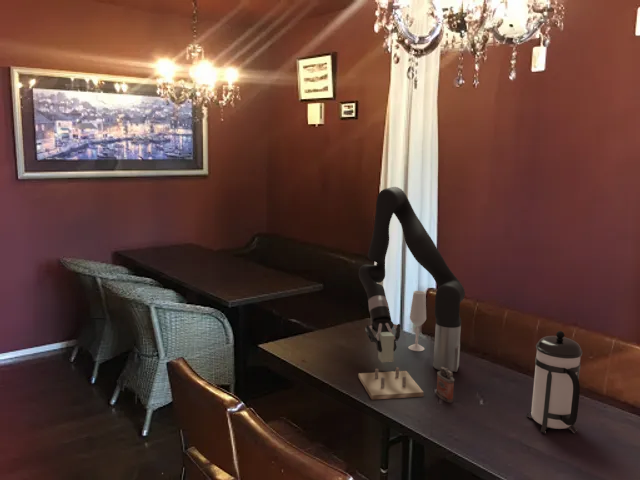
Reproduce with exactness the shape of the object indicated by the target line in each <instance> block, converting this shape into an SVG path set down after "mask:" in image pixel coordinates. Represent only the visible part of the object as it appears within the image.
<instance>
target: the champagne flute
mask: <svg viewBox="0 0 640 480" xmlns="http://www.w3.org/2000/svg"><path fill="white" fill-rule="evenodd" d="M426 305H427V302H426V291H423V290H414V291H413V294H412V300H411V306H410V313H409V314H410V315H409V319H410V321H411V323H412V324H413V325H414V326H415V338H414V339H415V342H414V343H413V344H411V345H409V346H408V347H407V348H408V349H409V350H410V351H414V352H422V351H424V350H425V347H424V346H423V345H421V344H419V334H420V326H423V324H424V323H425V322H426V320H427V306H426Z"/></svg>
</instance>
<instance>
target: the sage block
mask: <svg viewBox="0 0 640 480" xmlns="http://www.w3.org/2000/svg"><path fill="white" fill-rule="evenodd" d="M379 336H380V341H381V347H382V351H381V352H379V351H378V350H377V354H378V355H377V359H378V360H379V361H380V362H381V363H389V362H390V363H391V362H394V355H395V354H394V352H395V351H394V350H393V349H394V336H395V334H394V333H393V334H392V333H391V332H381V333H379Z"/></svg>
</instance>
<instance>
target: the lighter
mask: <svg viewBox="0 0 640 480" xmlns="http://www.w3.org/2000/svg"><path fill="white" fill-rule="evenodd" d="M440 370H441V371H440ZM440 370H439V371H437V372H436V376H437V379H436V390H435V394H436V396H438V397H439V398H440V399H441V400H442V401H444V402H446V403H453V402H454V384H455V382H456V381H455V378H454V377H453V376H454V373H453V371H452V372H451V371H449V369H448V368H444V367H441V369H440Z"/></svg>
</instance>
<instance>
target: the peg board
mask: <svg viewBox="0 0 640 480" xmlns="http://www.w3.org/2000/svg"><path fill="white" fill-rule="evenodd" d="M357 378H358V379H359V381H360V382H361V384H362V385H363V388H364V389H365V391H366V393H367V394H368V396H369V397H370V399H371V400H388V399H401V398H417V397H424V391H423V389H422V388H421V387H420V386H419V385H418V383H417V382H416V381H415V380H414V378H413V377H412V376H411V375H410V373H409V372H408V371H407V370H400V367H397V366H396V367H395V371H379V368H375V369H374V372H361V373H360V372H359V373H358V376H357Z"/></svg>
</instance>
